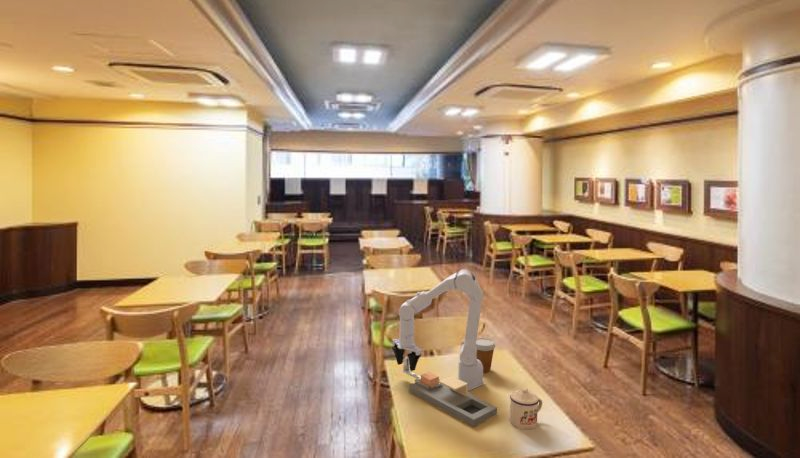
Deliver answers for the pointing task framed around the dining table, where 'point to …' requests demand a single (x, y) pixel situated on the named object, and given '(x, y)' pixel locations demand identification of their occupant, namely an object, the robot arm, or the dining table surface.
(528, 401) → the teacup with lid
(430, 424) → the dining table surface
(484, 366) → the disposable coffee cup
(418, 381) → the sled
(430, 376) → the terracotta block
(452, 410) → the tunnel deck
